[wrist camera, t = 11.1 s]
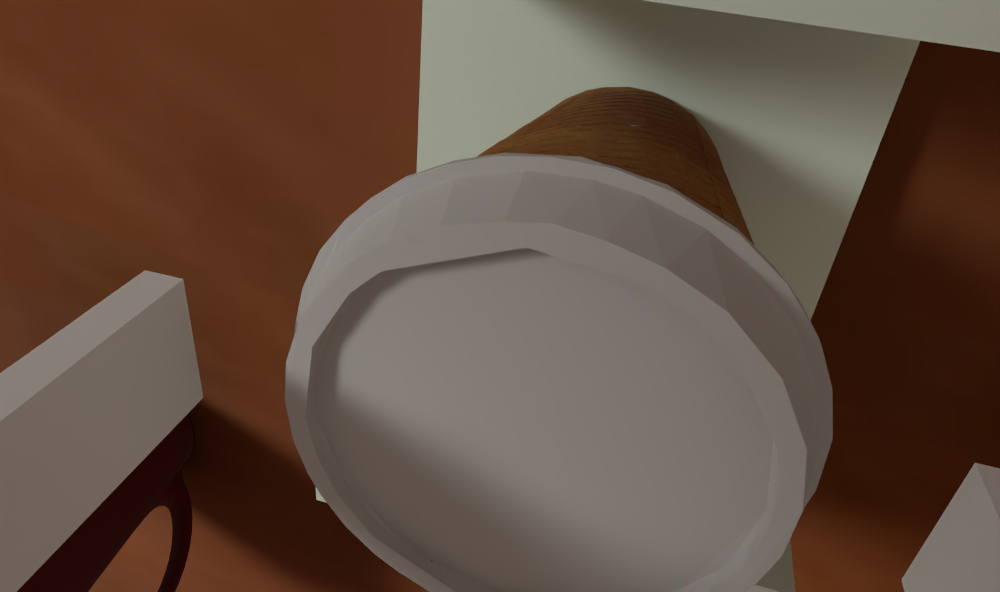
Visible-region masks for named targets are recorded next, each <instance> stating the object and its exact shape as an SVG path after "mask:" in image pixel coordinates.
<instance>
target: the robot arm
mask: <svg viewBox="0 0 1000 592" xmlns="http://www.w3.org/2000/svg"><path fill="white" fill-rule="evenodd" d="M202 398H203V393H202V387H201V381H200V375H199V370H198V364H197V358H196V352H195V346H194V340H193V334H192V328H191V322H190V317H189V311H188V305H187V299H186V293H185V287H184V281H183V279H180V278H176V277H172V276H168V275H163V274H159V273H155V272H150V271H146V270H145V271H143V272H142V273H141V274H139V275H138V276H136V277H135V278H134V279H132V280H131V281H129V282H128V283H127V284H125V285H124V286H122V287H121V288H120V289H118V290H117V291H115V292H114V293H112V294H111V295H110V296H108V297H107V298H105V299H104V300H103V301H101V302H100V303H98V304H97V305H96V306H94V307H93V308H91V309H90V310H89V311H87V312H86V313H84V314H83V315H82V316H80V317H79V318H77V319H76V320H74V321H73V322H72V323H70V324H69V325H67V326H66V327H65V328H63V329H62V330H60V331H59V332H58V333H56V334H55V335H53V336H52V337H51V338H49V339H48V340H46V341H45V342H44V343H42V344H41V345H39V346H38V347H36V348H35V349H34V350H32V351H31V352H29V353H28V354H27V355H25V356H24V357H22V358H21V359H20V360H18V361H17V362H15V363H14V364H13V365H11V366H10V367H8V368H7V369H6V370H4V371H3V372H1V373H0V592H17V591H18V590H19V589H20V588H21V587H22V586H23V585H24V583H25V582H26V581H27V580H28V579H29V578H30V577H31V576H32V575H33V574H34V573H35V572H36V571H37V570H38V569H39V568H40V567H41V566H42V565H43V564H44V563H45V562H46V561H47V560H48V559H49V557H50V556H51V555H52V554H53V553H54V552H55V551H56V550H57V549H58V548H59V547H60V546H61V545H62V544H63V543H64V542H65V541H66V540H67V539H68V538H69V537H70V536H71V535H72V534H73V532H74V531H75V530H76V529H77V528H78V527H79V526H80V525H81V524H82V523H83V522H84V521H85V520H86V519H87V518H88V517H89V516H90V515H91V514H92V513H93V512H94V511H95V510H96V509H97V508H98V506H99V505H100V504H101V503H102V502H103V501H104V500H105V499H106V498H107V497H108V496H109V495H110V494H111V493H112V492H113V491H114V490H115V489H116V488H117V487H118V486H119V485H120V484H121V483H122V482H123V480H124V479H125V478H126V477H127V476H128V475H129V474H130V473H131V472H132V471H133V470H134V469H135V468H136V467H137V466H138V465H139V464H140V463H141V462H142V461H143V460H144V459H145V458H146V457H147V456H148V454H149V453H150V452H151V451H152V450H153V449H154V448H155V447H156V446H157V445H158V444H159V443H160V442H161V441H162V440H163V439H164V438H165V437H166V436H167V435H168V434H169V433H170V432H171V431H172V430H173V428H174V427H175V426H176V425H177V424H178V423H179V422H180V421H181V420H182V419H183V418H184V417H185V416H186V415H187V414H188V413H189V412H190V411H191V410H192V409H193V408H194V407H195V406H196V405H197V404H198V402H199V401H200V400H201V399H202ZM902 584H903V588H904V592H1000V468H996V467H991V466H987V465H983V464H978V463H974V465H973V466H972V468H971V470H970V471H969V473H968V474H967V476H966V478H965V479H964V481H963V482H962V484H961V486H960V487H959V489H958V490H957V492H956V494H955V495H954V497H953V498H952V500H951V502H950V503H949V505H948V506H947V508H946V509H945V511H944V513H943V514H942V516H941V517H940V519H939V521H938V522H937V524H936V525H935V527H934V529H933V530H932V532H931V533H930V535H929V537H928V538H927V540H926V541H925V543H924V545H923V546H922V548H921V549H920V551H919V552H918V554H917V556H916V557H915V559H914V560H913V562H912V564H911V565H910V567H909V568H908V570H907V572H906V573H905V575H904V576H903V578H902Z"/></svg>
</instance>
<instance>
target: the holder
mask: <svg viewBox="0 0 1000 592" xmlns="http://www.w3.org/2000/svg"><path fill="white" fill-rule="evenodd" d="M920 41H926V42H933V43H940V44H947V45H954V46H961V47H968V48H975V49H981V50H988V51H995V52H1000V0H423V12H422V40H421V67H420V95H419V123H418V150H417V173H418V172H421V171H424V170H427V169H430V168H433V167H436V166H439V165H442V164H445V163H448V162H451V161H454V160H461V159H467V158H474V157H477V156H478V155H480V154H481V153H483V152H484V151H486V150H487V149H489V148H490V147H492V146H494V145H495V144H496V143H498V142H499V141H501V140H503V139H505V138H507V137H508V136H510V135H511V134H513V133H514V132H516V131H517V130H518V129H520V128H521V127H523V126H524V125H526V124H528V123H530V122H531V121H533V120H535V119H536V118H538V117H539V116H541V115H542V114H544V113H545V112H547V111H549V110H550V109H551V108H553V107H554V106H556V105H557V104H559V103H560V102H562V101H563V100H565V99H566V98H569V97H571V96H574V95H576V94H579V93H581V92H584V91H586V90H591V89H597V88H602V87H633V88H638V89H642V90H647V91H651V92H654V93H657V94H659V95H661V96H663V97H666V98H668V99H670V100H672V101H673V102H675V103H676V104H678V105H679V106H681V107H682V108H684V109H685V110H686V111H688V112H689V113H691V114H692V115H693V116H695V118H696V119H697V120H698V121H699V123H700V124H701V125H702V126H703V127H704V129H705V130H706V131H707V133H708V135H709V136H710V138H711V140H712V141H713V143H714V145H715V146H716V148H717V151H718V154H719V157H720V159H721V162H722V165H723V168H724V171H725V173H726V175H727V178H728V181H729V183H730V186H731V188H732V190H733V193H734V195H735V197H736V200H737V203H738V206H739V208H740V210H741V213H742V216H743V218H744V220H745V222H746V225H747V228H748V230H749V233H750V235H751V238H752V240H753V243H754V245H755V247H756V248H757V249H758V250H759V251H760V252H761V253H762V254H763V255H764V256H765V257H766V258H767V259H768V260H769V261H770V262H771V263H772V264H773V265H774V266H775V267H776V269H777V270H778V271H779V273H780V274H781V276H782V277H783V278H784V280H785V281H786V282H787V284H788V285H789V286H790V288H791V289H792V290H793V292H794V293H795V295H796V296H797V297H798V299H799V300H800V301H801V303H802V305H803V307H804V309H805V311H806V313H807V315H808V317H809V319H810V320H811V318H812V315H813V313H814V310H815V308H816V305H817V303H818V300H819V298H820V295H821V292H822V290H823V287H824V285H825V282H826V280H827V277H828V275H829V272H830V270H831V267H832V264H833V262H834V259H835V257H836V254H837V252H838V249H839V247H840V244H841V242H842V239H843V236H844V234H845V231H846V229H847V226H848V224H849V221H850V219H851V216H852V214H853V211H854V208H855V206H856V203H857V201H858V198H859V196H860V193H861V191H862V188H863V186H864V183H865V180H866V178H867V175H868V173H869V170H870V168H871V165H872V163H873V160H874V158H875V155H876V152H877V150H878V147H879V145H880V142H881V140H882V137H883V135H884V132H885V130H886V127H887V124H888V122H889V119H890V117H891V114H892V112H893V109H894V107H895V104H896V102H897V99H898V96H899V94H900V91H901V89H902V86H903V84H904V81H905V79H906V76H907V73H908V71H909V68H910V66H911V63H912V61H913V58H914V56H915V53H916V51H917V48H918V45H919V43H920ZM316 500H319V501H322V502H326V501H325V500H324V498H323V497H322V496H321V495H320V493H319V491H318V490H317V488H316ZM326 503H327V502H326ZM747 592H795V583H794V574H793V564H792V554H791V545H790V540H789V542H788V544H787V546H786V548H785V551H784V553H783V555H782V557H781V558H780V559H779V560H778V561H777V562H776V563H775V564H774V565H773V566H772V568H771V569H770V570H769V571H768V572H767V573H766V574H765V575H764V576H763V577H762V578H761V579H760V580H759V581H758V583H757V584H756V585H755V586H753V587H752V588H751V589H749V590H748V591H747Z"/></svg>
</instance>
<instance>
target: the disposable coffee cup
mask: <svg viewBox="0 0 1000 592" xmlns="http://www.w3.org/2000/svg"><path fill="white" fill-rule="evenodd" d="M285 403H286V408H287V413H288V417H289V422H290V427H291V431H292V436H293V441H294V443H295V445H296V448H297V450H298V452H299V454H300V457H301V459H302V461H303V464H304V466H305V468H306V471H307V473H308V475H309V476H310V478H311V480H312V481H313V483H314V485H315V486H316V488H317V490H318V491H319V493H320V495H321V496H322V497H323V498H324V500H325V501H326V502H327V504H328V505H329V506H330V507H331V509H332V510H333V511H334V512H335V514H336V515H337V516H338V517H339V519H340V520H341V521H342V523H343V524H344V525H345V526H346V527H347V528H348V529H349V530H350V531H351V532H352V533H353V534H354V535H355V536H356V537H357V538H358V539H359V540H360V541H361V542H362V543H363V544H364V545H365V546H366V547H368V548H369V549H370V550H371V551H372V552H373V553H374V554H375V555H376V556H378V557H379V558H380V559H382V560H383V561H384V562H386V563H387V564H388V565H390V566H391V567H392V568H394V569H395V570H396V571H398V572H399V573H401V574H402V575H404V576H405V577H407V578H409V579H410V580H412V581H413V582H415V583H417V584H418V585H420V586H421V587H423V588H424V589H426V590H428V591H429V592H747V591H748V590H749V589H751V588H752V587H753V586H755V585H756V584H757V583H758V581H759V580H760V579H761V578H762V577H763V576H764V575H765V574H766V573H767V572H768V571H769V570H770V569H771V568H772V566H773V565H774V564H775V563H776V562H777V561H778V560H779V559H780V558H781V557H782V555H783V553H784V551H785V548H786V546H787V544H788V542H789V540H790V538H791V536H792V533H793V531H794V529H795V527H796V525H797V523H798V520H799V518H800V516H801V514H802V512H803V509H804V507H805V506H806V504H807V503H808V501H809V500H810V498H811V497H812V496H813V494H814V493H815V491H816V490H817V486H818V483H819V480H820V477H821V474H822V471H823V468H824V465H825V461H826V458H827V455H828V452H829V449H830V446H831V443H832V440H833V394H832V385H831V381H830V377H829V373H828V369H827V365H826V361H825V357H824V353H823V349H822V346H821V343H820V339H819V337H818V335H817V333H816V331H815V329H814V327H813V325H812V323H811V321H810V319H809V317H808V315H807V313H806V311H805V309H804V307H803V305H802V303H801V301H800V300H799V299H798V297H797V296H796V295H795V293H794V292H793V290H792V289H791V288H790V286H789V285H788V284H787V282H786V281H785V280H784V278H783V277H782V276H781V274H780V273H779V271H778V270H777V269H776V267H775V266H774V265H773V264H772V263H771V262H770V261H769V260H768V259H767V258H766V257H765V256H764V255H763V254H762V253H761V252H760V251H759V250H758V249H757V248H756V247H755V245H754V243H753V240H752V238H751V235H750V233H749V230H748V228H747V225H746V222H745V220H744V218H743V216H742V213H741V210H740V208H739V206H738V203H737V200H736V197H735V195H734V193H733V190H732V188H731V186H730V183H729V181H728V178H727V175H726V173H725V171H724V168H723V165H722V162H721V159H720V157H719V154H718V151H717V148H716V146H715V145H714V143H713V141H712V140H711V138H710V136H709V135H708V133H707V131H706V130H705V129H704V127H703V126H702V125H701V124H700V123H699V121H698V120H697V119H696V118H695V116H693V115H692V114H691V113H689V112H688V111H686V110H685V109H684V108H682V107H681V106H679V105H678V104H676V103H675V102H673V101H672V100H670V99H668V98H666V97H663V96H661V95H659V94H657V93H654V92H651V91H647V90H642V89H638V88H633V87H602V88H597V89H591V90H586V91H584V92H581V93H579V94H576V95H574V96H571V97H569V98H566V99H565V100H563V101H562V102H560V103H559V104H557V105H556V106H554V107H553V108H551V109H550V110H549V111H547V112H545V113H544V114H542V115H541V116H539V117H538V118H536V119H535V120H533V121H531V122H530V123H528V124H526V125H524V126H523V127H521V128H520V129H518V130H517V131H516V132H514V133H513V134H511V135H510V136H508V137H507V138H505V139H503V140H501V141H499V142H498V143H496V144H495V145H494V146H492V147H490V148H489V149H487V150H486V151H484V152H483V153H481V154H480V155H478V156H477V157H474V158H467V159H461V160H454V161H451V162H448V163H445V164H442V165H439V166H436V167H433V168H430V169H427V170H424V171H421V172H418V173H415V174H412V175H409V176H406V177H404V178H403V179H401V180H400V181H398V182H396V183H395V184H393V185H391V186H390V187H388V188H386V189H385V190H383V191H382V192H380V193H378V194H377V195H375V196H373V197H372V198H370V199H369V200H368V201H367V202H366V203H364V204H363V205H362V206H361V207H360V208H359V209H357V210H356V211H355V212H354V213H353V214H351V215H350V216H349V217H348V218H347V219H345V221H344V222H343V223H342V224H341V225H340V227H339V228H338V229H337V230H336V231H335V233H334V234H333V235H332V236H331V237H330V239H329V240H328V241H327V242H326V243H325V245H324V246H323V247H322V248H321V249H320V251H319V253H318V255H317V258H316V260H315V262H314V264H313V266H312V269H311V271H310V273H309V275H308V277H307V279H306V282H305V284H304V286H303V289H302V294H301V299H300V303H299V308H298V313H297V318H296V323H295V336H294V339H293V342H292V345H291V348H290V351H289V354H288V358H287V361H286V381H285Z"/></svg>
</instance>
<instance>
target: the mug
mask: <svg viewBox="0 0 1000 592" xmlns="http://www.w3.org/2000/svg"><path fill="white" fill-rule="evenodd" d="M193 447H194V434H193V428H192V425H191V422H190V419H189V417H188V415H186V416H185V417H184V418H183V419H182V420H181V421H180V422H179V423H178V424H177V425H176V426H175V427H174V428H173V430H172V431H171V432H170V433H169V434H168V435H167V436H166V437H165V438H164V439H163V440H162V441H161V442H160V443H159V444H158V445H157V446H156V447H155V448H154V449H153V450H152V451H151V452H150V453H149V454H148V456H147V457H146V458H145V459H144V460H143V461H142V462H141V463H140V464H139V465H138V466H137V467H136V468H135V469H134V470H133V471H132V472H131V473H130V474H129V475H128V476H127V477H126V478H125V479H124V480H123V482H122V483H121V484H120V485H119V486H118V487H117V488H116V489H115V490H114V491H113V492H112V493H111V494H110V495H109V496H108V497H107V498H106V499H105V500H104V501H103V502H102V503H101V504H100V505H99V506H98V508H97V509H96V510H95V511H94V512H93V513H92V514H91V515H90V516H89V517H88V518H87V519H86V520H85V521H84V522H83V523H82V524H81V525H80V526H79V527H78V528H77V529H76V530H75V531H74V532H73V534H72V535H71V536H70V537H69V538H68V539H67V540H66V541H65V542H64V543H63V544H62V545H61V546H60V547H59V548H58V549H57V550H56V551H55V552H54V553H53V554H52V555H51V556H50V557H49V559H48V560H47V561H46V562H45V563H44V564H43V565H42V566H41V567H40V568H39V569H38V570H37V571H36V572H35V573H34V574H33V575H32V576H31V577H30V578H29V579H28V580H27V581H26V582H25V583H24V585H23V586H22V587H21V588H20V589H19V590H18V591H17V592H88V591H89V590H90V588H91V587H92V586H93V584H94V583H95V582H96V580H97V579H98V578H99V576H100V575H101V574H102V572H103V571H104V570H105V569H106V567H107V566H108V565H109V563H110V562H111V561H112V559H113V558H114V557H115V556H116V554H117V553H118V552H119V550H120V549H121V548H122V546H123V545H124V544H125V542H126V541H127V540H128V538H129V537H130V536H131V534H132V533H133V532H134V531H135V529H136V528H137V527H138V526H139V524H140V523H141V522H142V521H143V519H144V518H145V517H146V516H147V515H148V514H149V513H150V512H151V511H152V510H153V509H154V508H156V507H158V506H166V507H167V508H169V511H170V513H171V517H172V526H173V536H172V546H171V552H170V557H169V562H168V565H167V569H166V572H165V575H164V578H163V580H162V583H161V586H160V588H159V590H158V592H175V591H176V588H177V586H178V584H179V581H180V578H181V576H182V573H183V570H184V567H185V564H186V560H187V556H188V552H189V547H190V542H191V534H192V507H191V501H190V497H189V494H188V491H187V489H186V486H185V484H184V482H183V479H182V474H181V471H182V468H183V466H184V464H185V463H186V461H187V460H188V459H189V457H190V455H191V453H192V450H193Z"/></svg>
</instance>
